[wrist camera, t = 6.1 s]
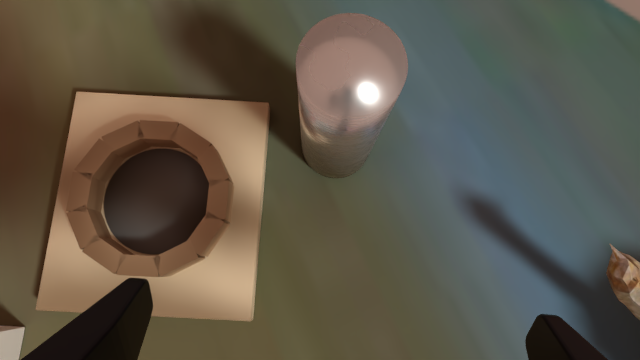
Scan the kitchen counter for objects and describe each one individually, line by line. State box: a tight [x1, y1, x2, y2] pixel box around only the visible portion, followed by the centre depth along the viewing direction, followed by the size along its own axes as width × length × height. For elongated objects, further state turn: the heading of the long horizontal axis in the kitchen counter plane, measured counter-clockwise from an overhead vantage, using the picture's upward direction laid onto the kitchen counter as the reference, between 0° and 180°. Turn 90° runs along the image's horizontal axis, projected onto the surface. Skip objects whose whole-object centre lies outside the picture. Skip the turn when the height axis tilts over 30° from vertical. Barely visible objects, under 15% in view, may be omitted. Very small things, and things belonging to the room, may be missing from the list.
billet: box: [296, 13, 408, 178], centre depth 20 cm, size 4×4×10 cm
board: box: [36, 92, 270, 321], centre depth 23 cm, size 12×11×2 cm
